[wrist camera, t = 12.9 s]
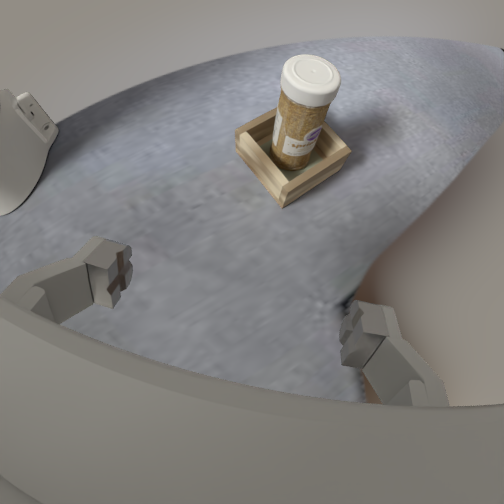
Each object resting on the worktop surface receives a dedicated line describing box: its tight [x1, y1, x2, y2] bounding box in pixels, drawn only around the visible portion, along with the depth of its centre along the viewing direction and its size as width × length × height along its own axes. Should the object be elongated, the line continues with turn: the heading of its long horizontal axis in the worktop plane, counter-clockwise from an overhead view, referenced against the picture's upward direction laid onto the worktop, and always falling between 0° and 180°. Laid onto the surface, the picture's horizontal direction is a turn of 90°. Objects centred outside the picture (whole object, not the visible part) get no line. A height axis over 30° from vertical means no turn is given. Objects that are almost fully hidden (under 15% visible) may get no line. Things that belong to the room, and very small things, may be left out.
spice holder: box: [235, 108, 352, 208], centre depth 32 cm, size 9×9×4 cm
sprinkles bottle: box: [270, 54, 341, 171], centre depth 26 cm, size 5×5×14 cm
